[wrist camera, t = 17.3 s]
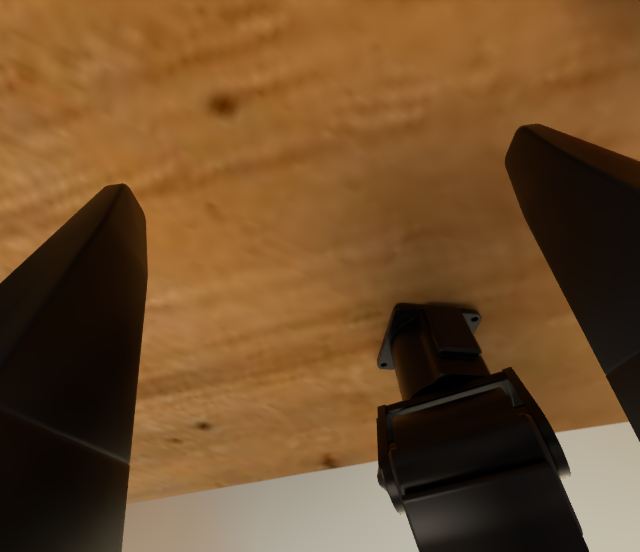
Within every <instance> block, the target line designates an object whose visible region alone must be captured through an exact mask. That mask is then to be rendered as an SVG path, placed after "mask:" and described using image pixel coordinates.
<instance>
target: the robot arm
mask: <svg viewBox="0 0 640 552" xmlns="http://www.w3.org/2000/svg"><path fill="white" fill-rule="evenodd" d="M505 167H506V170H507V172H508V175H509V178H510V181H511V183H512V186H513V189H514V191H515V194H516V197H517V200H518V202H519V205H520V208H521V210H522V213H523V215H524V218H525V220H526V222H527V224H528V226H529V228H530V230H531V232H532V234H533V236H534V237H535V239H536V241H537V243H538V245H539V247H540V249H541V251H542V253H543V255H544V257H545V259H546V261H547V263H548V265H549V266H550V268H551V270H552V272H553V274H554V276H555V278H556V280H557V282H558V284H559V286H560V288H561V290H562V292H563V294H564V296H565V297H566V299H567V301H568V303H569V305H570V307H571V309H572V311H573V313H574V315H575V317H576V319H577V321H578V323H579V325H580V326H581V328H582V330H583V332H584V334H585V336H586V338H587V340H588V342H589V344H590V346H591V348H592V350H593V352H594V354H595V356H596V357H597V359H598V361H599V363H600V365H601V367H602V369H603V371H604V373H605V374H607V375H606V377H607V379H608V381H609V383H610V385H611V387H612V389H613V391H614V393H615V395H616V397H617V399H618V401H619V403H620V404H621V406H622V408H623V410H624V412H625V414H626V416H627V418H628V420H629V422H630V424H631V426H632V428H633V429H634V432H635V434H636V436H637V437H638V439H639V441H640V161H637V160H635V159H632V158H629V157H627V156H624V155H621V154H619V153H616V152H613V151H611V150H608V149H605V148H603V147H600V146H597V145H594V144H592V143H589V142H586V141H584V140H581V139H578V138H576V137H573V136H570V135H568V134H565V133H562V132H560V131H557V130H554V129H552V128H549V127H546V126H544V125H541V124H530V125H523V126H521V127H519V128H518V129H517V130H516V132H515V134H514V137H513V139H512V142H511V144H510V147H509V149H508V152H507V154H506V157H505ZM147 278H148V266H147V240H146V219H145V215H144V212H143V210H142V208H141V207H140V205H139V203H138V202H137V200H136V198H135V196H134V195H133V193H132V191H131V190H130V188H129V187H128V186H127V185H125V184H115V185H108V186H105V187H104V188H103V189H102V190H101V191H100V192H99V193H97V194H96V195H95V196H94V197H93V198H92V199H91V200H90V201H89V202H88V203H87V204H86V205H85V206H83V207H82V208H81V209H80V210H79V211H78V212H77V213H76V214H75V215H74V216H73V217H72V218H70V219H69V220H68V221H67V222H66V223H65V224H64V225H63V226H62V227H61V228H60V229H59V230H58V231H56V232H55V233H54V234H53V235H52V236H51V237H50V238H49V239H48V240H47V241H46V242H45V243H43V244H42V245H41V246H40V247H39V248H38V249H37V250H36V251H35V252H34V253H33V254H32V255H30V256H29V257H28V258H27V259H26V260H25V261H24V262H23V263H22V264H21V265H20V266H19V267H18V268H16V269H15V270H14V271H13V272H12V273H11V274H10V275H9V276H8V277H7V278H6V279H5V280H3V281H2V282H1V283H0V552H121V551H122V541H123V530H124V520H125V510H126V500H127V489H128V479H129V469H130V465H129V463H130V456H131V446H132V435H133V425H134V415H135V404H136V394H137V384H138V374H139V363H140V353H141V343H142V332H143V322H144V312H145V301H146V291H147ZM401 310H403V311H402V312H399V311H401ZM473 317H474V318H473ZM480 321H481V315H480V314H479V312H478V311H475V310H464V309H452V308H441V307H429V306H417V305H406V304H399V305H397V306H395V307H394V309H393V312H392V316H391V319H390V322H389V325H388V328H387V331H386V334H385V337H384V340H383V343H382V346H381V350H380V353H379V356H378V359H377V365H378V367H379V368H380V369H391V370H395V372H396V376H397V380H398V384H399V388H400V392H401V396H402V401H401V402H397V403H394V404H390V405H387V406H386V405H382V406H379V407H378V418H377V442H378V465H379V468H378V474H377V478H378V482H379V485H380V486H381V487H382V488H384V489H385V490H386V491H387V492H388V494H389V496H390V498H391V501H392V503H393V505H394V507H395V509H396V511H397V512H398V513H399V514H400V515H401V514H405V513H406V515H407V518H408V521H409V524H410V527H411V530H412V532H413V535H414V538H415V541H416V544H417V547H418V549H419V552H589V550H588V547H587V545H586V543H585V541H584V538H583V533H582V529H581V526H580V524H579V521H578V519H577V517H576V515H575V512H574V510H573V507H572V505H571V503H570V501H569V498H568V496H567V494H566V491H565V489H564V487H563V484H562V482H561V480H560V478H565V477H569V476H571V472H570V468H569V466H568V463H567V460H566V457H565V455H564V452H563V450H562V448H561V445H560V443H559V441H558V439H557V437H556V435H555V433H554V431H553V429H552V427H551V425H550V424H549V422H548V420H547V418H546V417H545V415H544V413H543V412H542V410H541V409H540V407H539V406H538V405H537V403H536V402H535V400H534V399H533V397H532V396H531V395H530V393H529V392H528V390H527V389H526V387H525V386H524V385H523V383H522V382H521V380H520V379H519V377H518V376H517V375H516V373H515V372H514V370H513V369H512V367H509V368H506V369H502V371H501V372H498V373H494V374H490V372H489V370H488V368H487V366H486V364H485V362H484V360H483V358H482V356H481V353H482V351H481V349H480V347H479V345H478V343H477V341H476V339H475V337H474V335H473V334H474V332H475V330H476V329H477V327H478V325H479V323H480Z"/></svg>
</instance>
